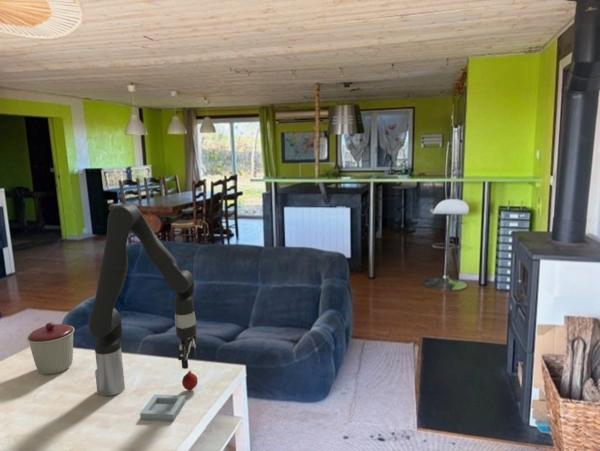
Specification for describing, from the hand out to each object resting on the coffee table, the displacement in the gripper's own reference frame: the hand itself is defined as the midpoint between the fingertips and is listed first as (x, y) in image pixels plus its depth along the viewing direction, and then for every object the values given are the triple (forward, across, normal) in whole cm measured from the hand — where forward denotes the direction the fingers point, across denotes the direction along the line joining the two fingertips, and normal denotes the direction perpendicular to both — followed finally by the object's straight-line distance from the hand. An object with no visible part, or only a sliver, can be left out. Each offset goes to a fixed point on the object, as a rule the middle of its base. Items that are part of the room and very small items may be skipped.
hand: (189, 362), depth 175 cm
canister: (+11, -13, -65) cm, 68 cm away
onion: (+12, 0, 0) cm, 12 cm away
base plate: (+11, +14, -5) cm, 19 cm away
